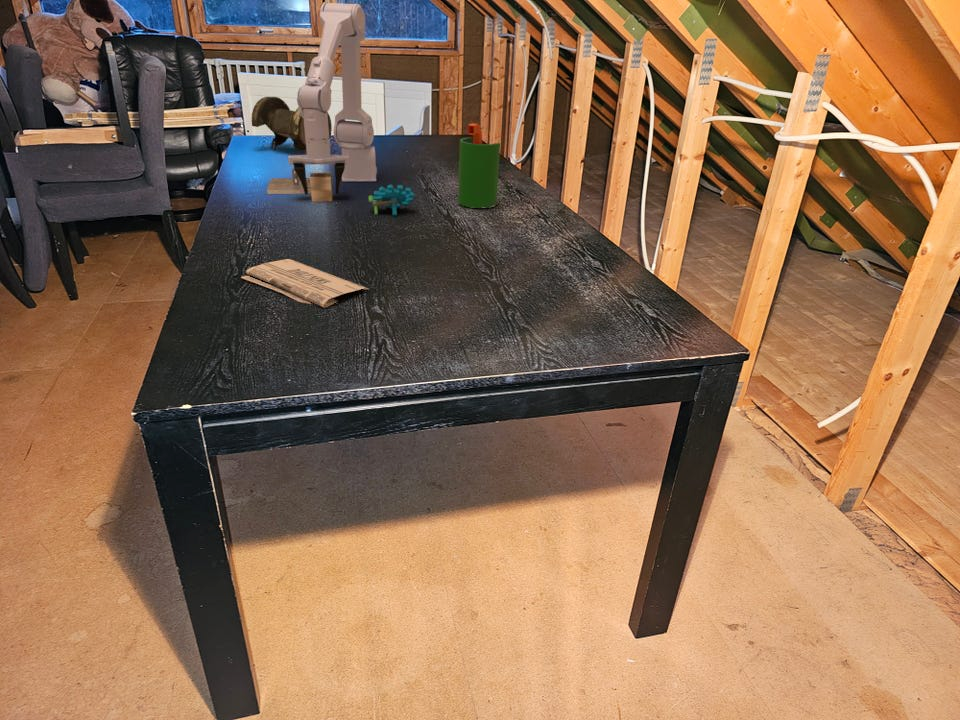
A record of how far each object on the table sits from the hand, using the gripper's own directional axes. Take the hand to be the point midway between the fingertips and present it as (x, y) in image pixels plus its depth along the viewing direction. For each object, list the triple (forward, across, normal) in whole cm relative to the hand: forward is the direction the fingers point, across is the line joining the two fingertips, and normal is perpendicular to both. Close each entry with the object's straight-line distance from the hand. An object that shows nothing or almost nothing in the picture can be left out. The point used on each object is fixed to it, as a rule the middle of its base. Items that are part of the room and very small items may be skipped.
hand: (321, 193), depth 166 cm
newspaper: (+2, -2, -56) cm, 56 cm away
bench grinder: (+2, -8, +55) cm, 56 cm away
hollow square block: (+1, 0, 0) cm, 1 cm away
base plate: (+1, -6, +11) cm, 13 cm away
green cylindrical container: (+2, +39, -7) cm, 40 cm away
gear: (+2, +17, -12) cm, 21 cm away
